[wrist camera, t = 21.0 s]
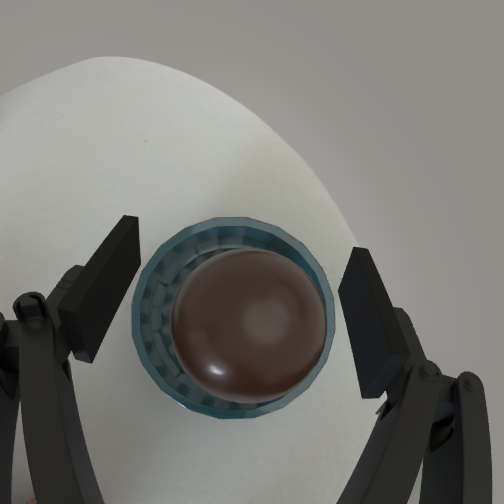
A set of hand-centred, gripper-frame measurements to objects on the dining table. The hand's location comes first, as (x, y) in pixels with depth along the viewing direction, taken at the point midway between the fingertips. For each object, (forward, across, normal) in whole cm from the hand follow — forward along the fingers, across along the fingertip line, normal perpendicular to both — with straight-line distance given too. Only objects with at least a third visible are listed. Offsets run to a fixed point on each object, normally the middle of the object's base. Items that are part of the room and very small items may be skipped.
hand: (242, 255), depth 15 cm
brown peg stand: (+7, 0, -12) cm, 14 cm away
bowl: (+8, 0, -12) cm, 14 cm away
